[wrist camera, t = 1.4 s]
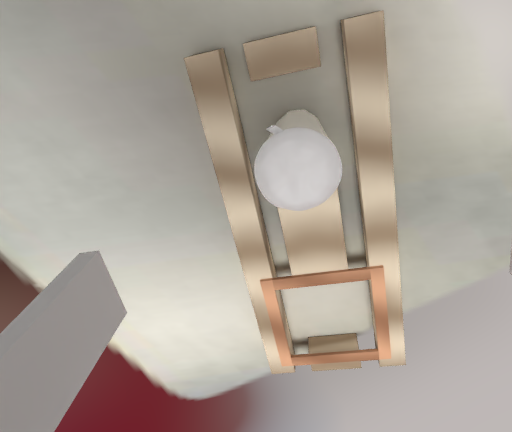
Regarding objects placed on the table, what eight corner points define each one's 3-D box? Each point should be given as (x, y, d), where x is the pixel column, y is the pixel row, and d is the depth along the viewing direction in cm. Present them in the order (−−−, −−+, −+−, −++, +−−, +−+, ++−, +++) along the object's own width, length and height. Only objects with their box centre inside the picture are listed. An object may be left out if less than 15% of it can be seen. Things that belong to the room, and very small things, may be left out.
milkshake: (312, 75, 25) (318, 105, 16) (340, 147, 27) (359, 208, 18) (250, 104, 26) (225, 146, 18) (281, 171, 28) (273, 239, 20)
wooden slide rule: (191, 55, 25) (182, 58, 23) (377, 11, 23) (384, 10, 21) (273, 357, 37) (271, 376, 35) (400, 347, 35) (406, 367, 33)
